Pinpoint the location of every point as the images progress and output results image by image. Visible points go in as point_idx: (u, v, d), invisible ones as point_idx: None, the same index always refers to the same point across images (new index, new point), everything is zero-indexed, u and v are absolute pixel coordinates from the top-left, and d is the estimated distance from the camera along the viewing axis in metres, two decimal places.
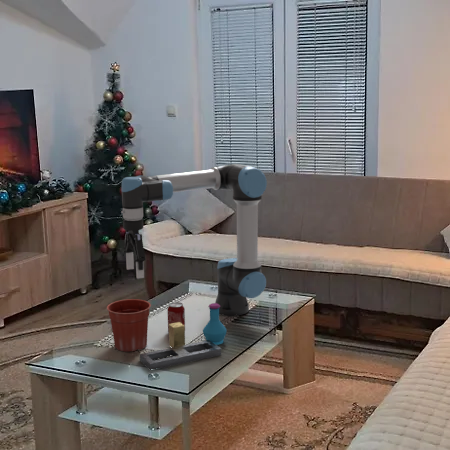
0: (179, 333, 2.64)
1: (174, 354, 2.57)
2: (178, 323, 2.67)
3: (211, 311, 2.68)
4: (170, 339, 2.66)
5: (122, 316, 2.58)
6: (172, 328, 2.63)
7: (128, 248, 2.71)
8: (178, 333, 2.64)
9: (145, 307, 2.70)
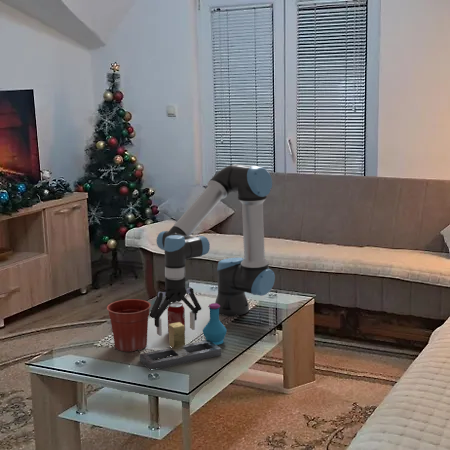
0: (179, 333, 2.64)
1: (174, 354, 2.57)
2: (178, 323, 2.67)
3: (211, 311, 2.68)
4: (170, 339, 2.66)
5: (122, 316, 2.58)
6: (172, 328, 2.63)
7: (189, 307, 2.67)
8: (178, 333, 2.64)
9: (145, 307, 2.70)
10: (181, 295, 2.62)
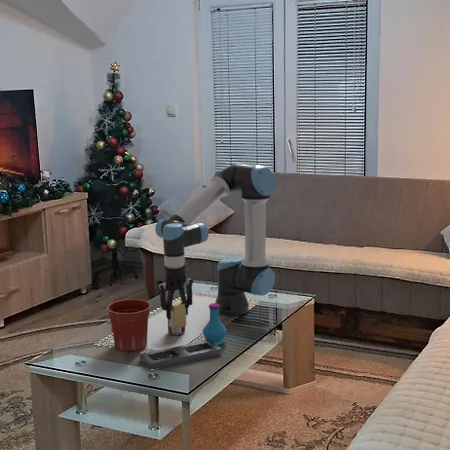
0: (179, 311, 2.62)
1: (174, 354, 2.57)
2: (178, 301, 2.65)
3: (211, 311, 2.68)
4: None
5: (122, 316, 2.58)
6: (172, 306, 2.62)
7: (181, 300, 2.65)
8: (178, 311, 2.62)
9: (145, 307, 2.70)
10: (181, 283, 2.61)
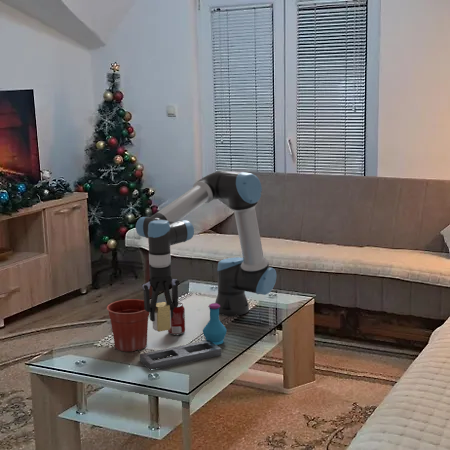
0: (164, 313, 2.48)
1: (174, 354, 2.57)
2: (163, 303, 2.51)
3: (211, 311, 2.68)
4: None
5: (122, 316, 2.58)
6: (156, 308, 2.47)
7: (166, 301, 2.51)
8: (163, 313, 2.48)
9: None
10: (166, 284, 2.47)
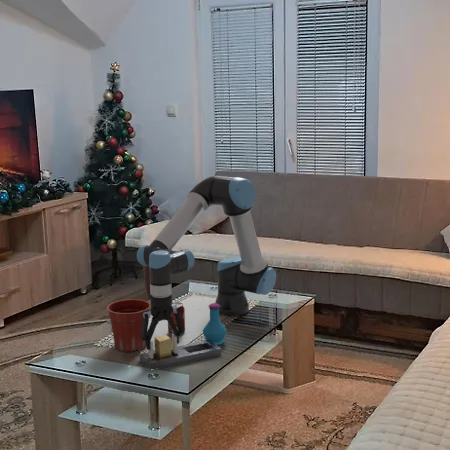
0: (165, 347, 2.51)
1: (174, 354, 2.57)
2: (164, 336, 2.53)
3: (211, 311, 2.68)
4: (155, 353, 2.53)
5: (122, 316, 2.58)
6: (158, 342, 2.50)
7: (171, 328, 2.54)
8: (164, 346, 2.50)
9: (145, 307, 2.70)
10: (167, 313, 2.49)
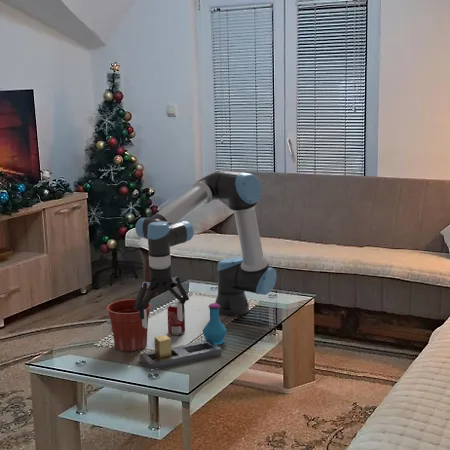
0: (165, 347, 2.51)
1: (174, 354, 2.57)
2: (164, 336, 2.53)
3: (211, 311, 2.68)
4: (156, 353, 2.53)
5: (122, 316, 2.58)
6: (158, 342, 2.50)
7: None
8: (164, 346, 2.50)
9: None
10: (167, 285, 2.47)
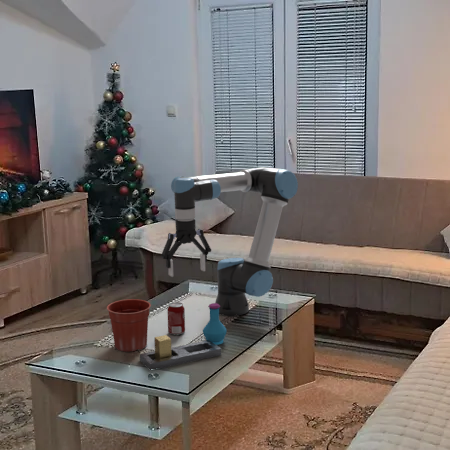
0: (165, 347, 2.51)
1: (174, 354, 2.57)
2: (164, 336, 2.53)
3: (211, 311, 2.68)
4: (156, 353, 2.53)
5: (122, 316, 2.58)
6: (158, 342, 2.50)
7: (199, 249, 2.72)
8: (164, 346, 2.50)
9: (145, 307, 2.70)
10: (191, 236, 2.67)
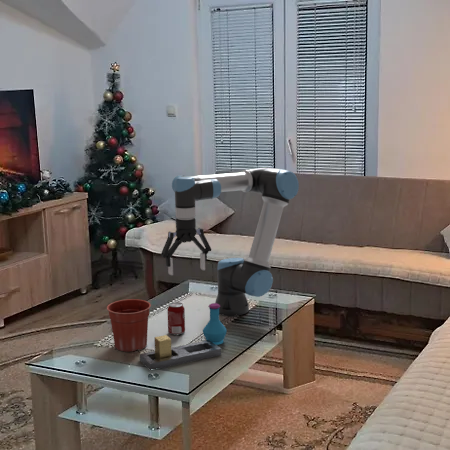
0: (165, 347, 2.51)
1: (174, 354, 2.57)
2: (164, 336, 2.53)
3: (211, 311, 2.68)
4: (156, 353, 2.53)
5: (122, 316, 2.58)
6: (158, 342, 2.50)
7: (199, 248, 2.73)
8: (164, 346, 2.50)
9: (145, 307, 2.70)
10: (191, 235, 2.67)
